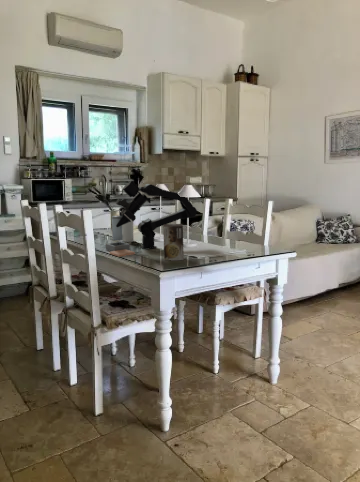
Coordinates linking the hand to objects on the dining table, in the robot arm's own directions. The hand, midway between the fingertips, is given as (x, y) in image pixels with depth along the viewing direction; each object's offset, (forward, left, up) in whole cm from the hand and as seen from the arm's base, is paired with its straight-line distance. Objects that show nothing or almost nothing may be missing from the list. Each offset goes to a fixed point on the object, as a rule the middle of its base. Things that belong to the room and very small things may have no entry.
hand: (115, 225), depth 209 cm
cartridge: (0, -1, -7) cm, 7 cm away
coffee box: (-35, -10, -13) cm, 39 cm away
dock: (-5, +1, -12) cm, 14 cm away
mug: (+17, -16, -13) cm, 26 cm away
